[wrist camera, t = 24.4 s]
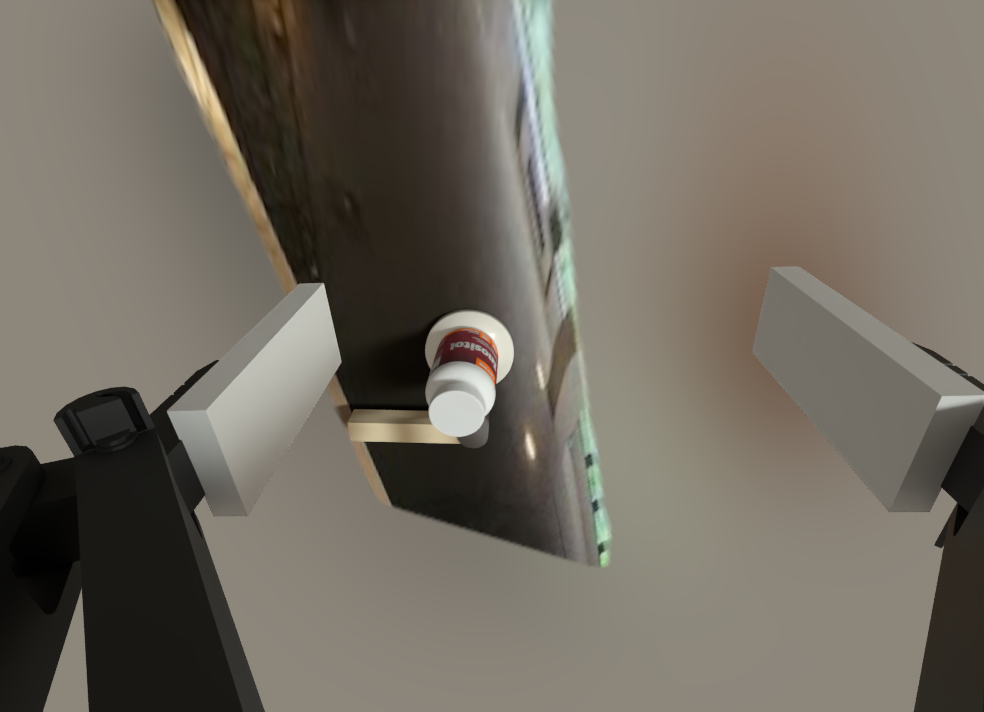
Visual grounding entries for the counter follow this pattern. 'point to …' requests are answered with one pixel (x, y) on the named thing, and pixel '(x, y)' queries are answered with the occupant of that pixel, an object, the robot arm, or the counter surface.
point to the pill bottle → (462, 381)
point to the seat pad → (478, 321)
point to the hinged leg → (407, 428)
